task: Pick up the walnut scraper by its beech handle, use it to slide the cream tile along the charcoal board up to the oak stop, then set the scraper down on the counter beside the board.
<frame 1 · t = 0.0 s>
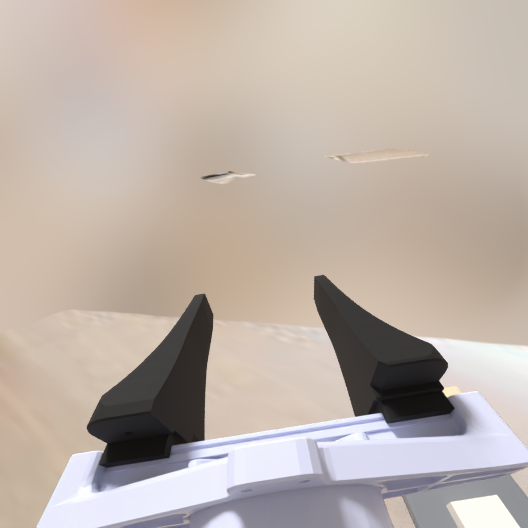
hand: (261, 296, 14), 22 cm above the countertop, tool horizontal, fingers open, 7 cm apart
board: (464, 505, 19), on the countertop
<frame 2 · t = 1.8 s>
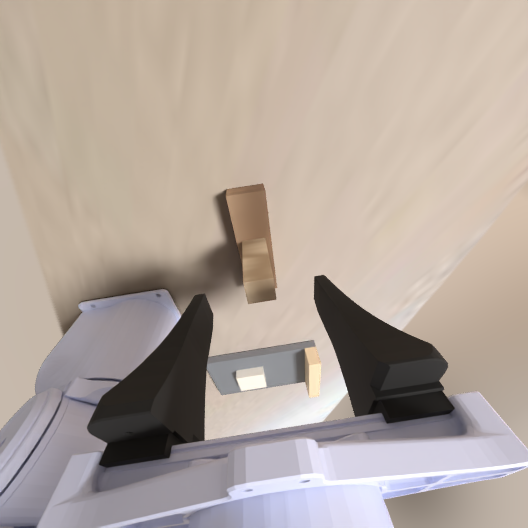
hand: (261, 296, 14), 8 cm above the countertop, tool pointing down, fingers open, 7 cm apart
scraper: (254, 238, 20), on the countertop
board: (263, 366, 34), on the countertop
tile: (251, 375, 33), point 1 cm above the countertop, touching board
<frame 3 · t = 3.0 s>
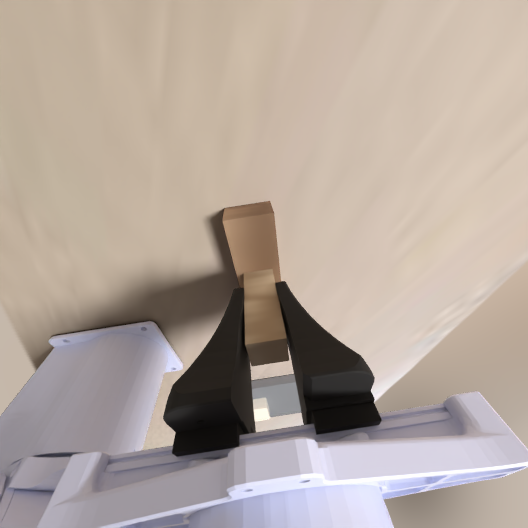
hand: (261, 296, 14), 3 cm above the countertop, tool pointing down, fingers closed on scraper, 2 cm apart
scraper: (258, 265, 17), on the countertop, touching gripper
board: (266, 395, 30), on the countertop
tile: (253, 405, 29), point 1 cm above the countertop, touching board
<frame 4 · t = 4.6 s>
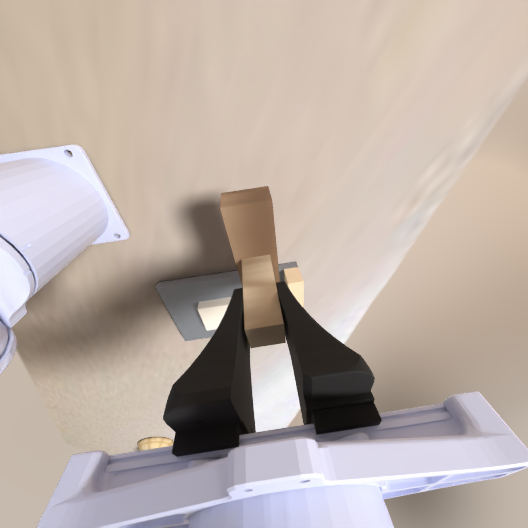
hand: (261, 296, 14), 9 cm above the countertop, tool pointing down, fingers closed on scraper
hand bell: (156, 441, 54), on the countertop
scraper: (255, 250, 17), point 5 cm above the countertop, tilted 6°, touching gripper
board: (235, 302, 27), on the countertop
tile: (219, 310, 26), point 1 cm above the countertop, touching board
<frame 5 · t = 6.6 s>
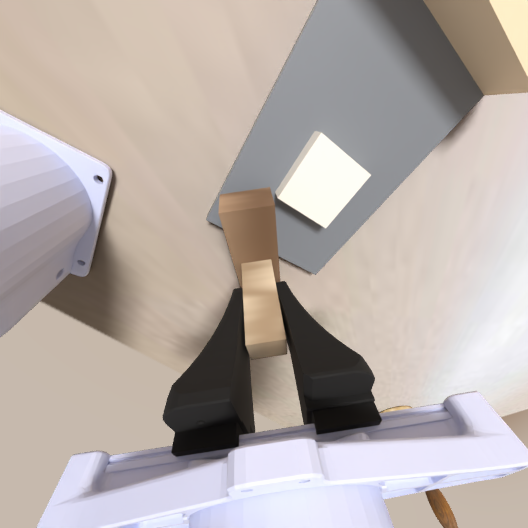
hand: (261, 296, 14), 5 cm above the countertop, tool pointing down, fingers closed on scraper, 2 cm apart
hand bell: (392, 413, 44), on the countertop
scraper: (255, 251, 16), point 1 cm above the countertop, tilted 11°, touching board, gripper
board: (333, 149, 13), on the countertop
tile: (317, 181, 14), point 1 cm above the countertop, touching board
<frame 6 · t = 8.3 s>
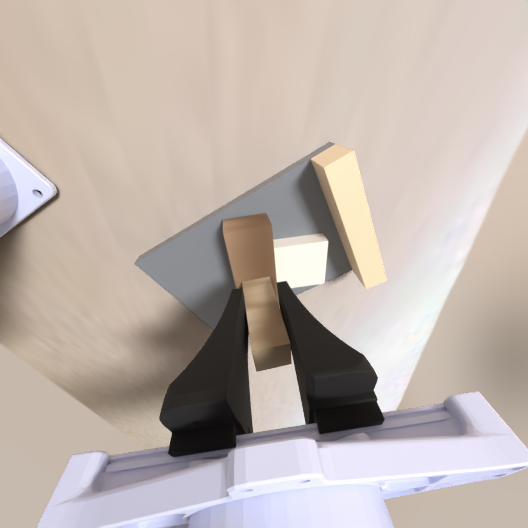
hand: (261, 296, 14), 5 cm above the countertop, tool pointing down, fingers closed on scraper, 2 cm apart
scraper: (253, 273, 17), point 1 cm above the countertop, touching board, gripper, tile
board: (258, 255, 18), on the countertop
tile: (296, 258, 17), point 1 cm above the countertop, touching board, scraper
when the fingers open (4 cm above the countertop, at t = 11.2 s): scraper stays where it is, resting on board.
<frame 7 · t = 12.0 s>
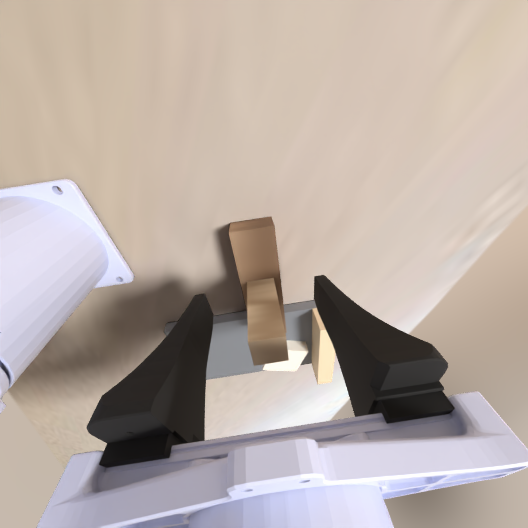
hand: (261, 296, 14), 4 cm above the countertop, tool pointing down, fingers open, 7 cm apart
scraper: (260, 276, 18), point 1 cm above the countertop, tilted 6°, touching board
board: (253, 340, 24), on the countertop
tile: (283, 350, 24), point 1 cm above the countertop, touching board
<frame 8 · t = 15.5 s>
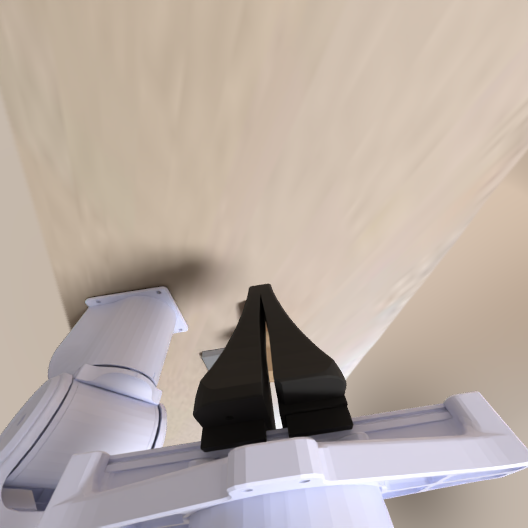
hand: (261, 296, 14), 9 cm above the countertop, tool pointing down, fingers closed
scraper: (263, 326, 30), point 1 cm above the countertop, tilted 6°, touching board
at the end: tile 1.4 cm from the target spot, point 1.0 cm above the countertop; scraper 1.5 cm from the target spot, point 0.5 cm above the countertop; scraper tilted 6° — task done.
